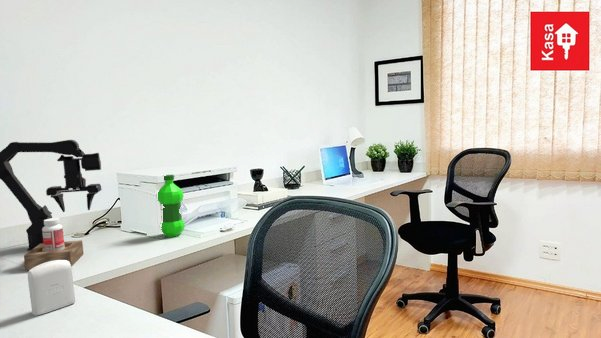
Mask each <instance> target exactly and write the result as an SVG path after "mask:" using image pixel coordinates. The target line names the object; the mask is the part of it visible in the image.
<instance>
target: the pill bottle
mask: <svg viewBox="0 0 601 338" xmlns="http://www.w3.org/2000/svg"><path fill="white" fill-rule="evenodd" d="M60 222H61V221H60V217H52V218H50V219H46V220H44V225H45V226H44V227H43V228H42V233H43V242H44V250H45V252H47V251H59V250H64V249H65V245H64V242H65V237H64V231H63V230H64V227H63V225H62V224H60Z"/></svg>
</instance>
